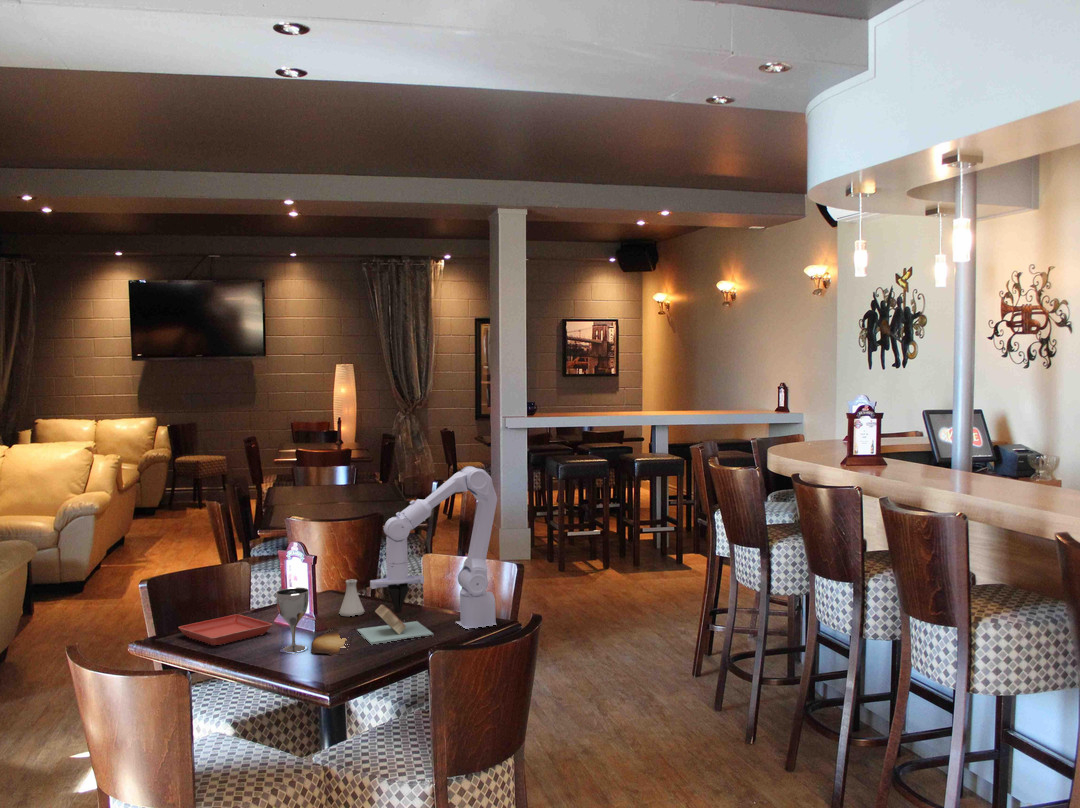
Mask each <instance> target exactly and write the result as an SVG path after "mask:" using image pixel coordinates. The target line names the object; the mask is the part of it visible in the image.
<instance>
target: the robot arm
mask: <svg viewBox="0 0 1080 808" xmlns="http://www.w3.org/2000/svg"><path fill="white" fill-rule="evenodd" d="M494 487H495V486H494V484H493V478H492V477H491V476H490V474H488V472H487V471H486V470H485V469H482V468H477V467H475V466H471V465H468V466H464V467H463V468H462V469H461V470H459V471H457V472H456V473H454V474H453V475H452V476H451V477H449V478H448V479H447V480H446V481H445V482H444V483H442V484H441V485H440V486H438V487H437V488H436V489H435V490H434V491H433V492H432V493H430V494H429V495H428V496H426V497H425V499H419V498H417V499H416V500H414V499H412V500H411V501H409V505H408V506H407V507H405V508H404V509H403V510H401V511H398V512H396V513H395V516H392V517H391V518H390V517H389V518H388V519H387V521H385V524H384V527H383V533H384V534H385V535H386V540H385V543H386V545H385V553H386V554H385V556H386V557H385V560H386V561H385V562H386V563H385V564H386V577H383V578H378V579H377V578H376V579H371V580H369V587H370V589H371V590H373V589H375V590H376V589H377V588H378V589H379V588H386V589H385V590H386V591H387V593H388V595H389V597H390V600H391V603H392V607H393V613H394V614H395V613H396V614H401V613H402V610H403V605H404V602H405V599H406V596H407V594H408V592H409V591H410V586H409V585H414V584H415V585H416V584H425V576H424V575H422V574H420V575H419V574H417V575H415V574H414V575H409V567H408V564H409V561H408V551H409V550H408V537H409V535H410V532H411V531H412V530H414V529H415V528H416V527H418V526H419V525H420V524H422V523H423V522H424V521H425V520H427V519H428V518H429V517H431V515H432V510H433V508H435V507H436V506H438V505H440V504H441V503H442V502H443V501H445V500H446V499H448V498H450V497H451V496H452V495H454V494H455V493H461V492H468V491H469V492H470V493H471V495H473V497H474V498H475V500H476V501H477V506H476V510H475V511H476V512H475V517H474V521H473V527H472V531H471V532H472V533H471V537H470V543H469V546H468V547H469V548H468V554H467V557H466V559H464V562H463V566H462V568H461V570H459V572H458V576H457V581H458V582H457V583H458V584H459V586H460V587H461V588H460V592H459V609H460V610H459V612H460V614H459V615H460V620H458V621H457V620H456V621H455V624H456V623H457V624H459V625H460V626H462V627H463V628H465V629H468V630H470V629H469V628H475V629H479V628H478V627H482V628H487V627H486V626H489V627H494V626H493V625H496V626H497V622H496V619H497V618H496V616H497V615H496V614H497V613H496V599H495V596H494V593H493V591H487V589H488V585H489V580H488V565H487V557H488V550H489V545H490V540H491V537H492V536H491V535H492V530H493V524H494V518H495V513H496V508H497V504H498V495H497V493H496V490H495V488H494ZM457 624H456V625H457ZM459 625H458V626H459ZM460 626H459V627H460ZM462 627H461V628H462ZM463 628H462V629H463ZM465 629H464V630H465Z"/></svg>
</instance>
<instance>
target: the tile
mask: <svg viewBox="0 0 1080 808" xmlns="http://www.w3.org/2000/svg"><path fill="white" fill-rule="evenodd" d="M374 612H375V613H376V614H377V615H378V616H379V617H380V618H381V619H382V620H383V621H384V622H385V623H386V624H387V625H389V626H390V627H391V628H392V629H393V630H394V631H395V632H397V633H398V634H400V633H401V632H402V631H403V630H404V629H405V628H406V627H405V624H404V623H405V622H403V621H402V620H401V619H400V618H398V616H397V615H396V614H395V612H394V611H392V610H391V609H390V608H388V607H387V606H386V605H385V604H380V605H379V606H378V608H376V609H375V611H374Z"/></svg>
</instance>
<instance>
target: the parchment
mask: <svg viewBox="0 0 1080 808" xmlns="http://www.w3.org/2000/svg"><path fill="white" fill-rule="evenodd" d="M337 628H338V627H330V628H329V629H331V630H332V629H333V630H332V631H330V630H329V631H330V632H328V631H327V632H328V633H327V632H323V633H324V634H323V633H322V634H323V635H322V634H320V635H319V636H315V637H314V638H313V640H312V642H311V647H310V649H311V650H310V651H311V653H312V655H313V654H327V655H329V656H330V655H332V656H334V655H333V654H336V655H338V654H337V653H339V651H340V648H346V647H345V646H344V644H345V641H347V639H346V638H342V639H341V638H340V635H339V633H338V631H339V629H337ZM353 628H354V629H356V630H357V628H355V627H353ZM345 645H346V644H345ZM347 645H348V644H347ZM339 654H340V653H339Z"/></svg>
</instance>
